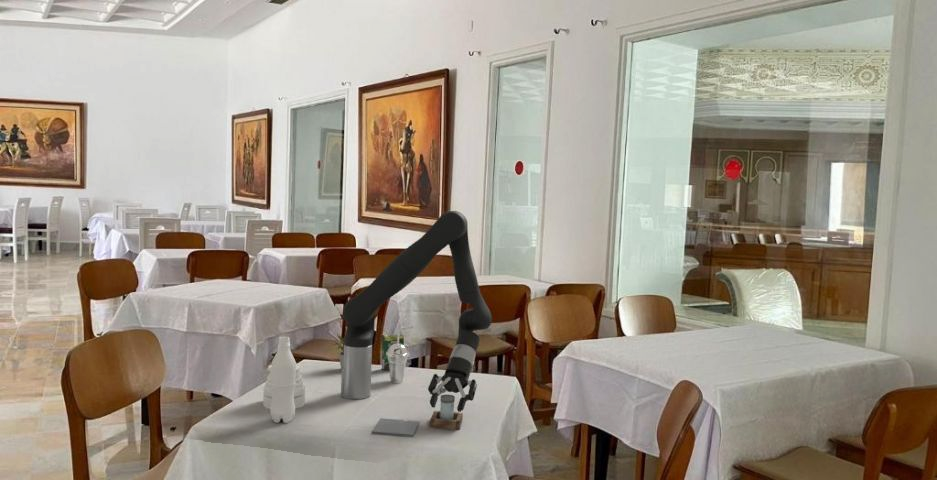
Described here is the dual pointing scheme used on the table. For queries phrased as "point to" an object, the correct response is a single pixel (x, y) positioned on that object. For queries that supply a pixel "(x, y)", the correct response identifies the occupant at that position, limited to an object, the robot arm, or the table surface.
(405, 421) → the slate pad
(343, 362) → the house plant
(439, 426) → the walnut collar
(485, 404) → the table surface
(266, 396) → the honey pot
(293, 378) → the water bottle
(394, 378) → the cup with straw
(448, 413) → the grey-capped cylinder canister
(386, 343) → the coffee box
